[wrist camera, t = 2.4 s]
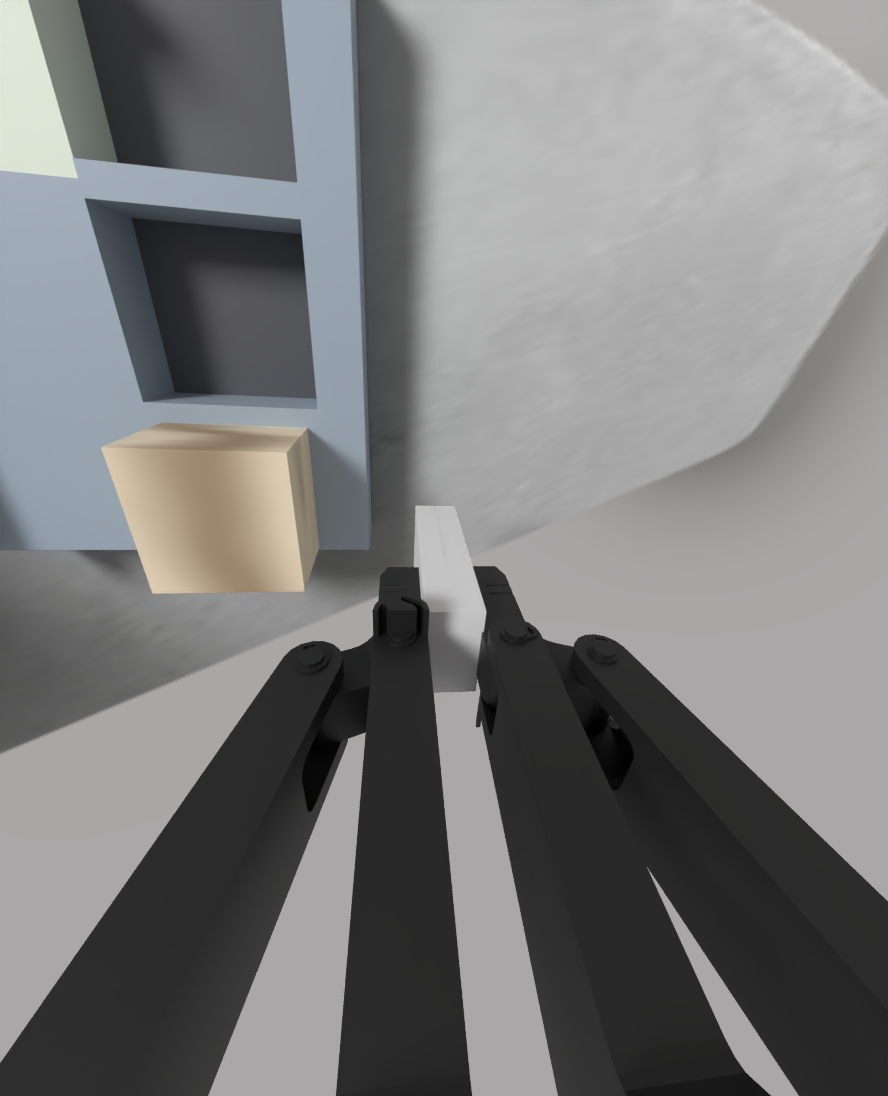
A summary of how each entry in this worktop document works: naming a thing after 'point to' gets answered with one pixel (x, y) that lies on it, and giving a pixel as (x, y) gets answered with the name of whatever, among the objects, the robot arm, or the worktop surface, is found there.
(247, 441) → the block
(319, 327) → the tray
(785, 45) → the worktop surface
